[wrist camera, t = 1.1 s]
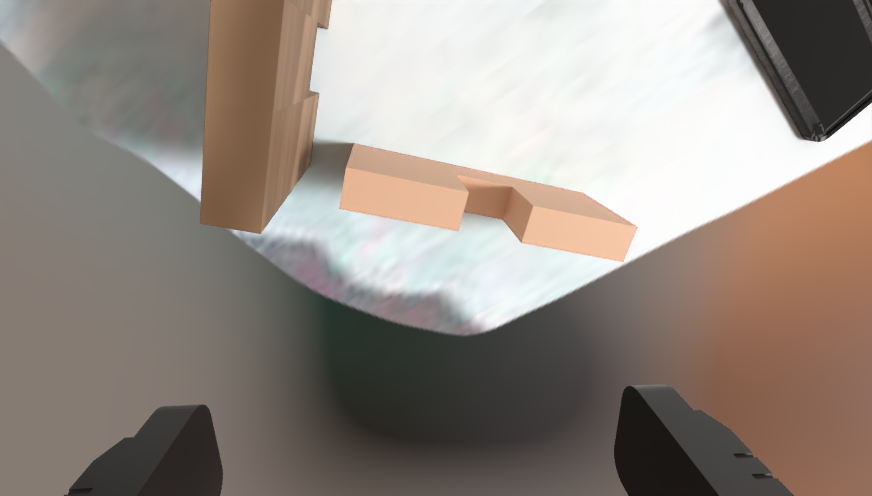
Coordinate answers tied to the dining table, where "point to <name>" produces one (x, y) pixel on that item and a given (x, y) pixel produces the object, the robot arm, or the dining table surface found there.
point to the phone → (813, 57)
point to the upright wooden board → (258, 107)
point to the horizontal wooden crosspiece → (481, 202)
